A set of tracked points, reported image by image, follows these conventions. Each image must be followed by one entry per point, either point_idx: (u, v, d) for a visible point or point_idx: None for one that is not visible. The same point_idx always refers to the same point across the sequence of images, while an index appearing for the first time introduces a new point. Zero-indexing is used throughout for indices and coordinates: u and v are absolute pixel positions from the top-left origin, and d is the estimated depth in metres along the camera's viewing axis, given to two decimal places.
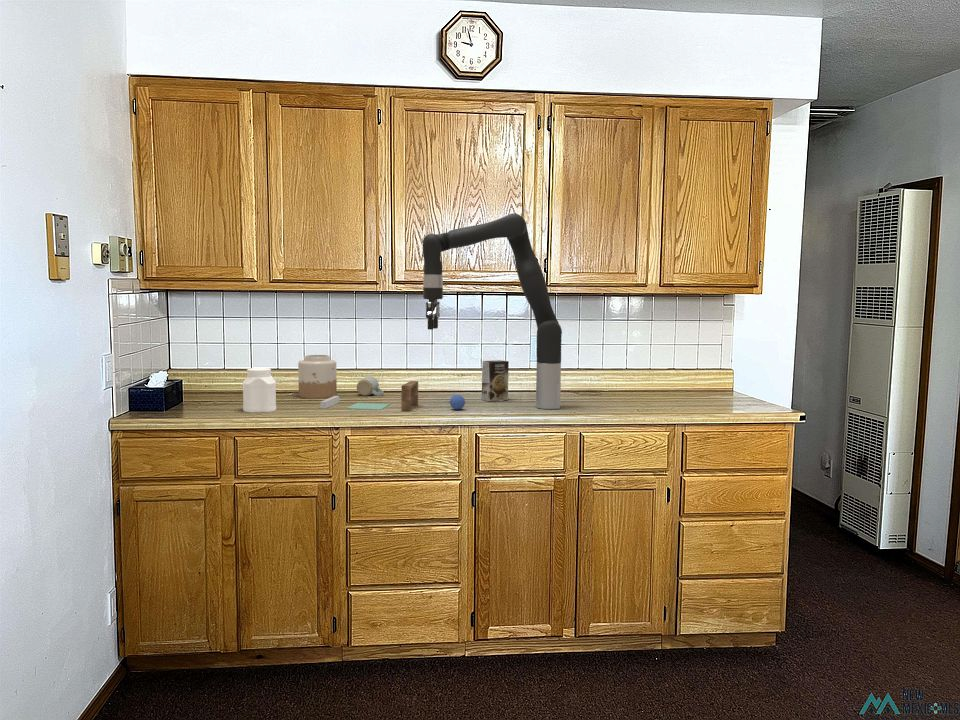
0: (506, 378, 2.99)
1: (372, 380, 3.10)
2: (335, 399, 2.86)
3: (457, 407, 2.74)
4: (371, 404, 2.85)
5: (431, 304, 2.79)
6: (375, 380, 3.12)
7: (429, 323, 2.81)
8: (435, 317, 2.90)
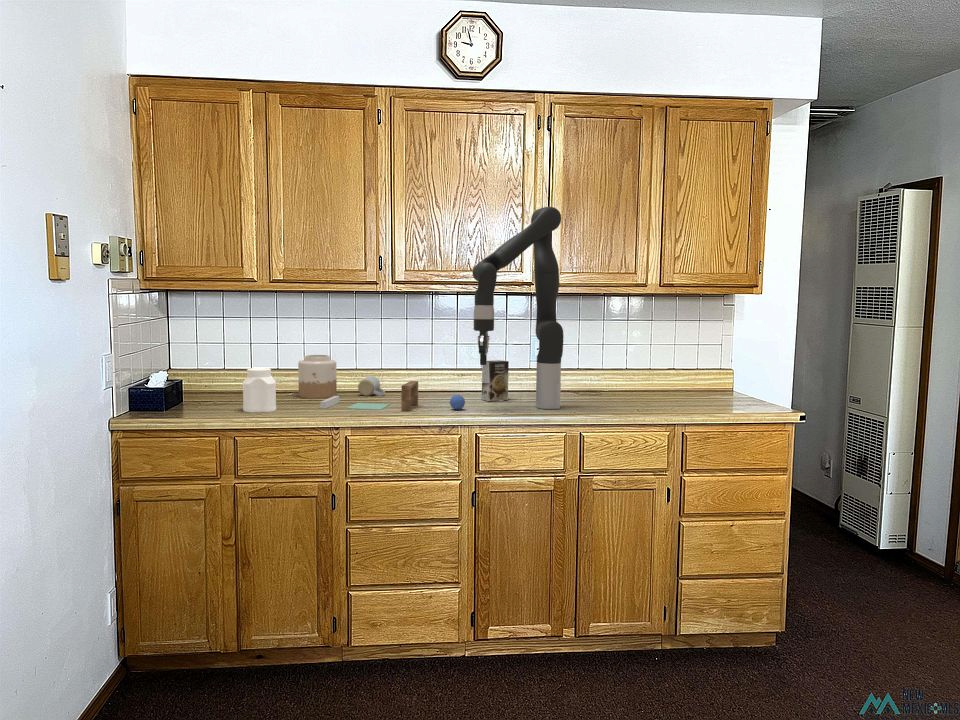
0: (506, 378, 2.99)
1: (373, 380, 3.10)
2: (335, 399, 2.86)
3: (457, 407, 2.74)
4: (371, 404, 2.85)
5: (483, 343, 2.67)
6: (376, 380, 3.12)
7: (482, 358, 2.72)
8: None
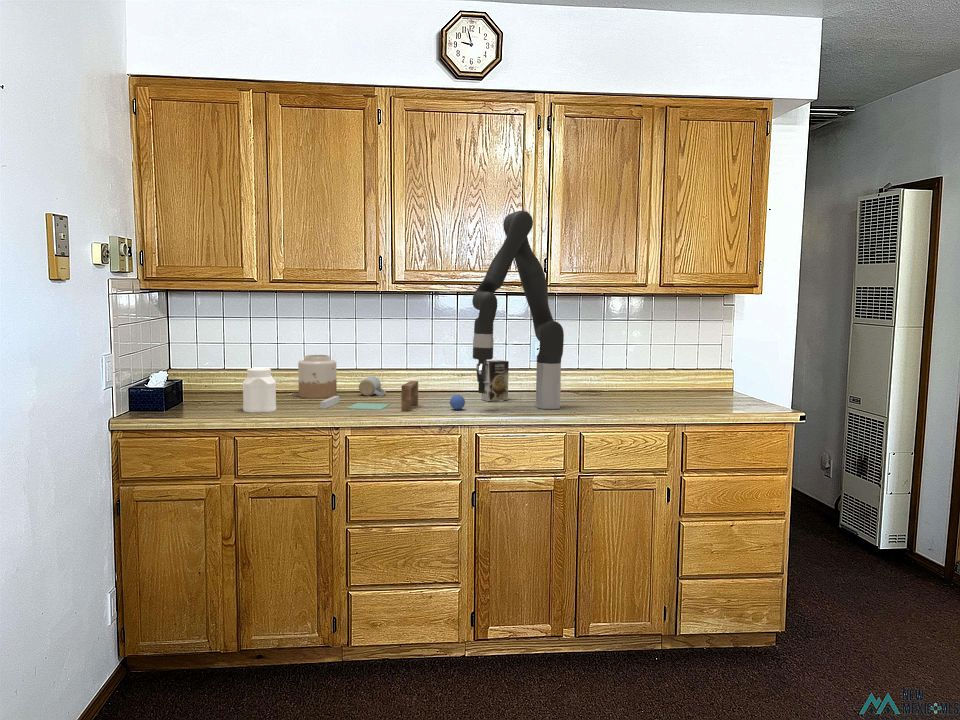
0: (506, 378, 2.99)
1: (374, 380, 3.09)
2: (335, 399, 2.86)
3: (457, 407, 2.74)
4: (371, 404, 2.85)
5: (482, 372, 2.68)
6: (377, 381, 3.12)
7: (480, 387, 2.73)
8: None
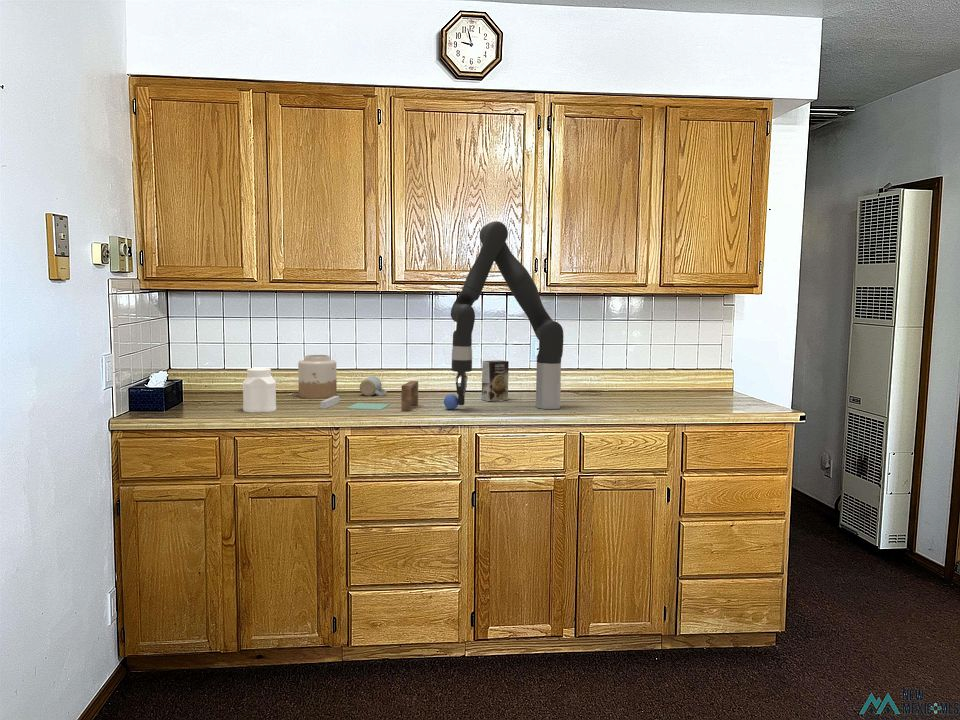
0: (506, 378, 2.99)
1: (375, 380, 3.09)
2: (335, 399, 2.86)
3: (453, 405, 2.74)
4: (371, 404, 2.85)
5: (461, 385, 2.68)
6: (378, 381, 3.12)
7: (460, 399, 2.73)
8: None
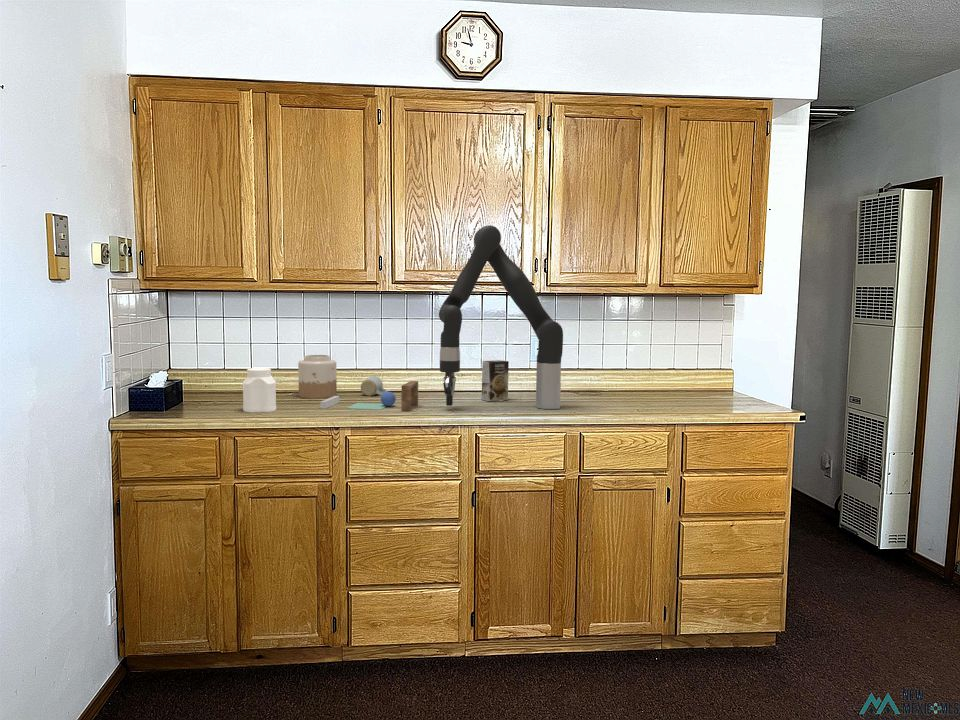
0: (506, 378, 2.99)
1: (376, 380, 3.09)
2: (335, 399, 2.86)
3: (385, 395, 2.79)
4: (371, 404, 2.85)
5: (449, 385, 2.70)
6: (379, 381, 3.11)
7: (448, 399, 2.75)
8: None
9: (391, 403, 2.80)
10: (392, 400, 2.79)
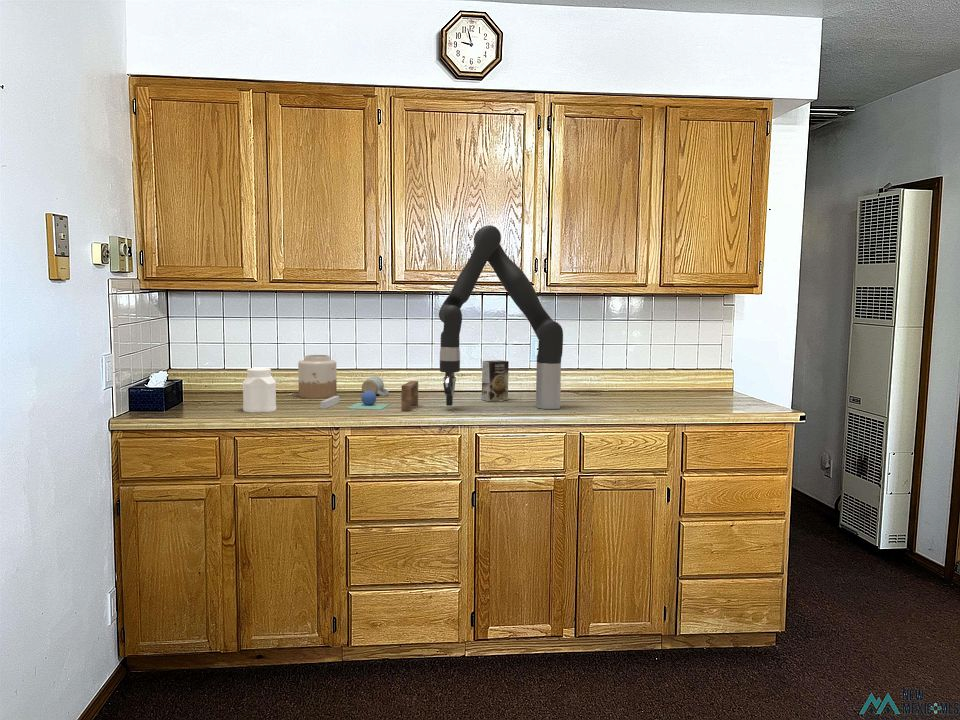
0: (506, 378, 2.99)
1: (377, 380, 3.09)
2: (335, 399, 2.86)
3: (365, 403, 2.81)
4: None
5: (449, 385, 2.70)
6: (380, 381, 3.11)
7: (448, 399, 2.75)
8: None
9: (364, 393, 2.82)
10: (362, 395, 2.82)
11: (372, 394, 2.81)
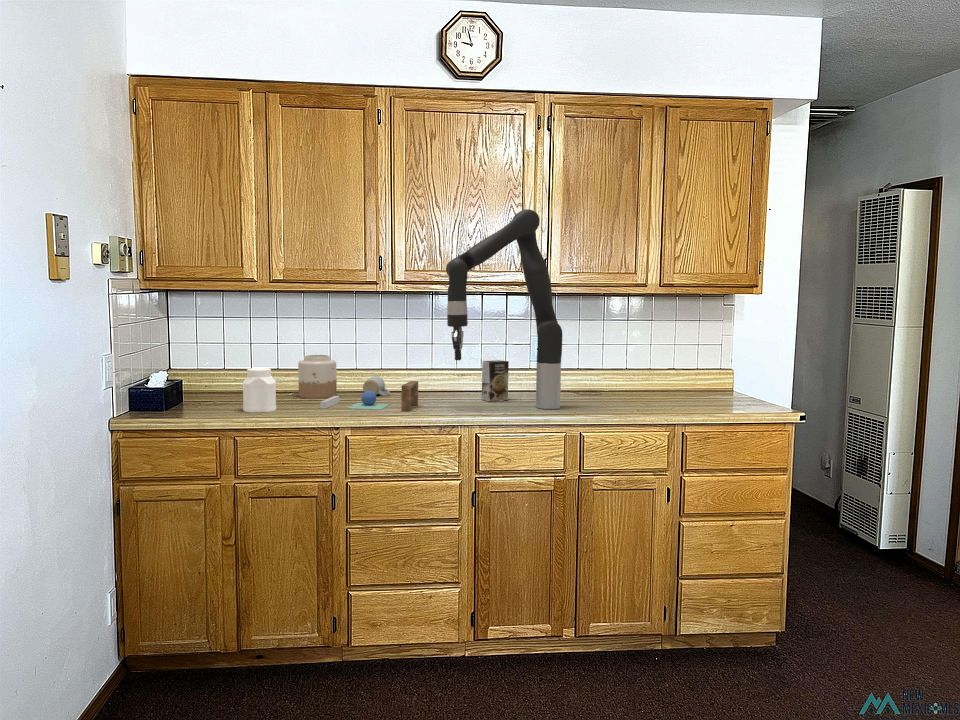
0: (506, 378, 2.99)
1: (378, 380, 3.09)
2: (335, 399, 2.86)
3: (365, 403, 2.81)
4: None
5: (457, 339, 2.70)
6: (381, 381, 3.11)
7: (456, 354, 2.75)
8: None
9: (364, 393, 2.82)
10: (362, 395, 2.82)
11: (372, 394, 2.81)
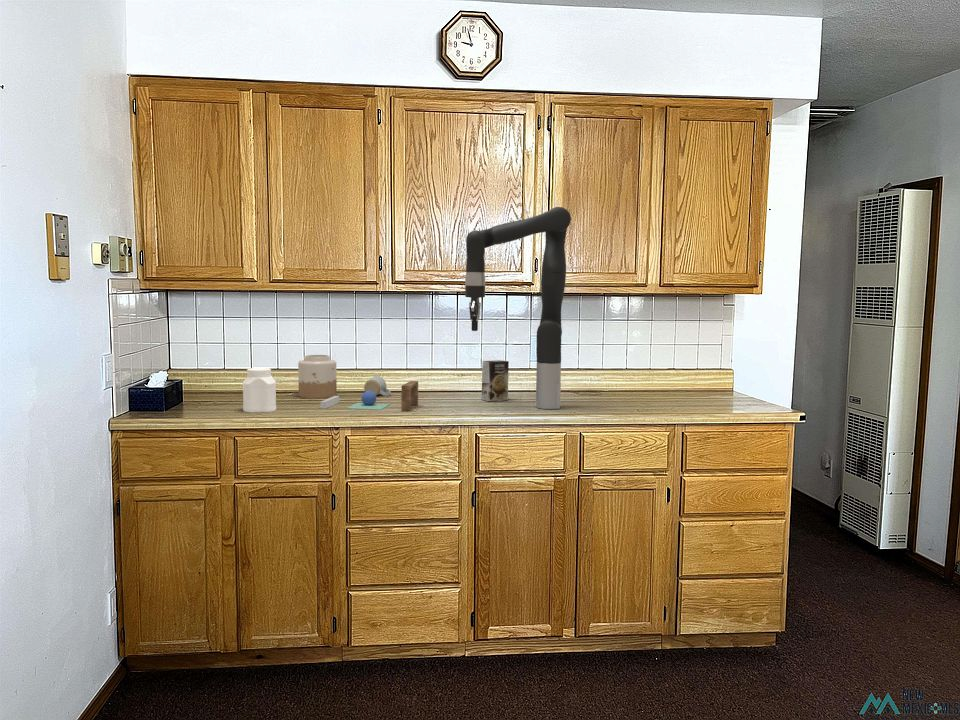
0: (506, 378, 2.99)
1: (380, 380, 3.09)
2: (335, 399, 2.86)
3: (365, 403, 2.81)
4: None
5: (474, 309, 2.74)
6: (383, 381, 3.11)
7: (473, 324, 2.79)
8: None
9: (364, 393, 2.82)
10: (362, 395, 2.82)
11: (372, 394, 2.81)
